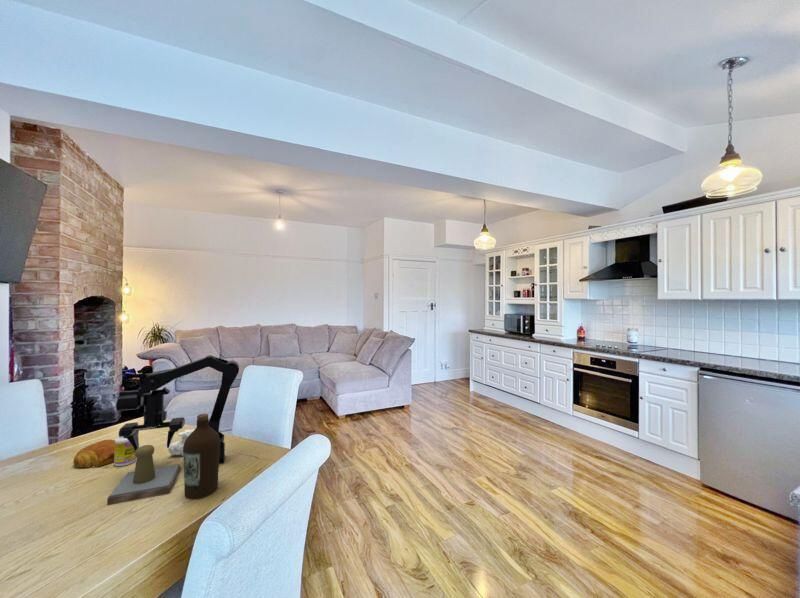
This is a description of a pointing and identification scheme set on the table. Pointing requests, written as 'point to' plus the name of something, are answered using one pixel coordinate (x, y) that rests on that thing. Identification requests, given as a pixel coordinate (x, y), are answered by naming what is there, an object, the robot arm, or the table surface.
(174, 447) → the bust
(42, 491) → the table surface
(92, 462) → the croissant
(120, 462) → the supplement bottle
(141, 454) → the brown rounded upright piece
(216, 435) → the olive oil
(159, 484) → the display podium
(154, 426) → the robot arm
